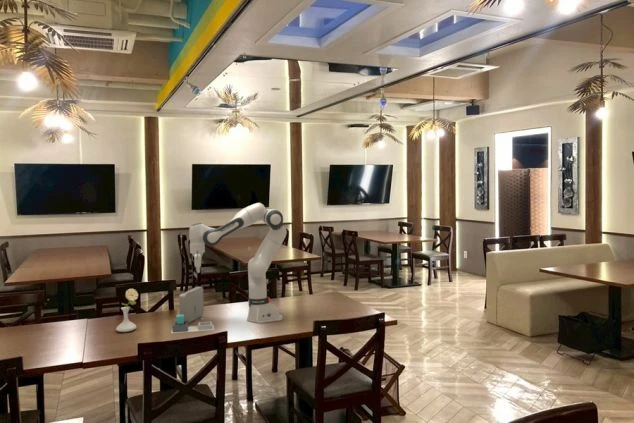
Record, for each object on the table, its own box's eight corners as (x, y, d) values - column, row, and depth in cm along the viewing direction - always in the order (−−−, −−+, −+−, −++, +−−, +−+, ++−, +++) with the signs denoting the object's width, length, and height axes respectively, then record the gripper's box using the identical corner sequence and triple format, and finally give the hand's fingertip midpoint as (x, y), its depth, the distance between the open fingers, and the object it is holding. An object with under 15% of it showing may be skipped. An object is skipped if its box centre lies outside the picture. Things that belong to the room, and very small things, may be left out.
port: (188, 327, 292) (188, 320, 292) (187, 331, 284) (187, 324, 283) (173, 328, 290) (173, 321, 290) (172, 332, 282) (172, 325, 282)
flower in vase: (118, 334, 284) (116, 292, 283) (114, 330, 294) (112, 288, 293) (141, 330, 291) (139, 289, 290) (137, 326, 301) (135, 286, 300)
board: (213, 327, 296) (213, 324, 296) (214, 332, 286) (213, 329, 286) (172, 330, 291) (172, 327, 291) (171, 335, 280) (171, 333, 280)
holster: (212, 325, 295) (211, 321, 295) (212, 329, 287) (212, 325, 287) (198, 326, 293) (198, 322, 293) (198, 330, 285) (197, 326, 285)
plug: (184, 328, 289) (183, 314, 289) (184, 330, 285) (183, 316, 285) (177, 329, 288) (176, 314, 288) (176, 331, 284) (176, 316, 284)
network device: (189, 328, 295) (188, 295, 294) (176, 327, 297) (174, 294, 296) (207, 316, 320) (206, 286, 319) (194, 316, 322) (193, 286, 321)
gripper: (202, 251, 290) (203, 274, 291) (202, 247, 310) (203, 269, 311) (191, 252, 288) (192, 275, 289) (192, 248, 308) (193, 270, 309)
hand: (198, 272), depth 300 cm, fingers closed
